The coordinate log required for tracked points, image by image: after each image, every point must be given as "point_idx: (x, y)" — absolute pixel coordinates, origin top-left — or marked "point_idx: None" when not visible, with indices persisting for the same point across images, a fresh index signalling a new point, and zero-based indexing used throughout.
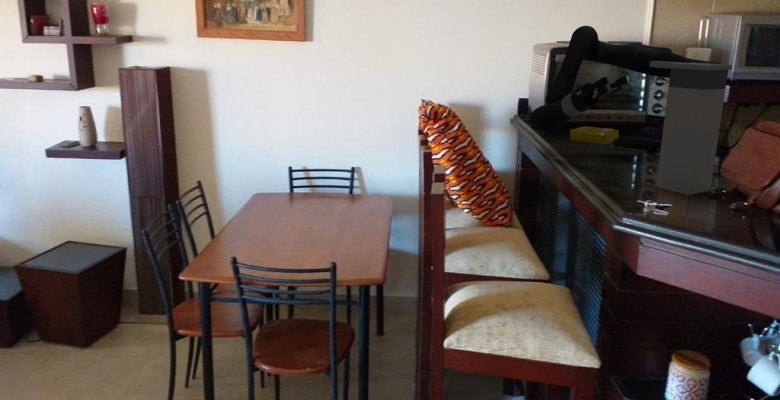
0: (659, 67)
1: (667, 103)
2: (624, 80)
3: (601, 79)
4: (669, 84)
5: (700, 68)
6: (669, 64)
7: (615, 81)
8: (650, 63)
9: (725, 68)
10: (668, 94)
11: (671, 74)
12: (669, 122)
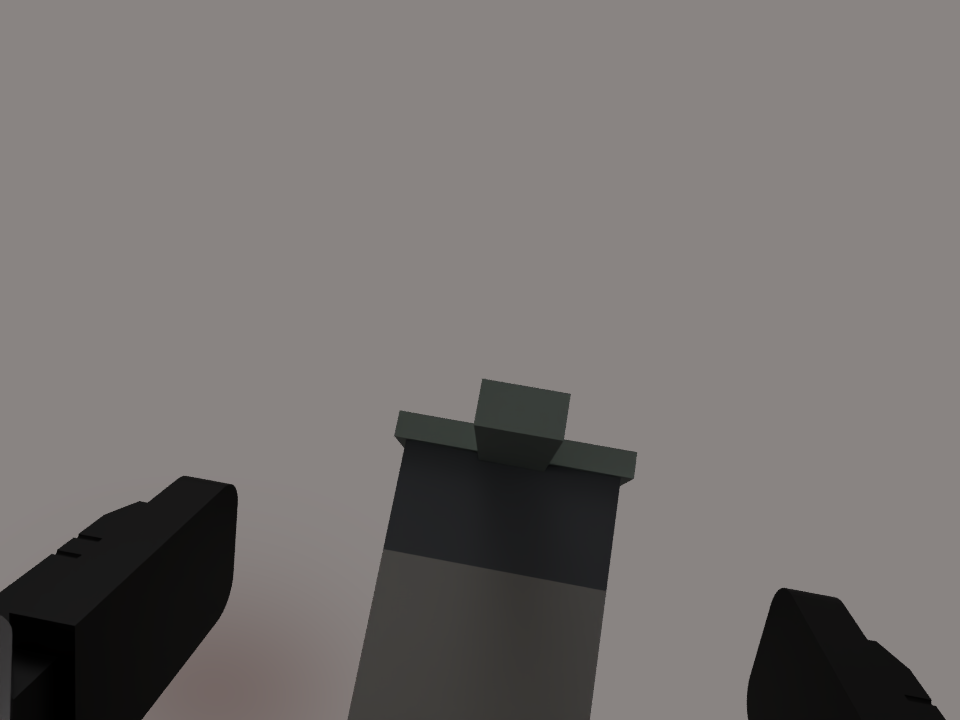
0: (555, 453)
1: (590, 701)
2: (217, 572)
3: (901, 673)
4: (607, 577)
5: None
6: (635, 460)
7: (85, 639)
8: (567, 413)
9: None
10: (598, 641)
11: (614, 517)
12: None
